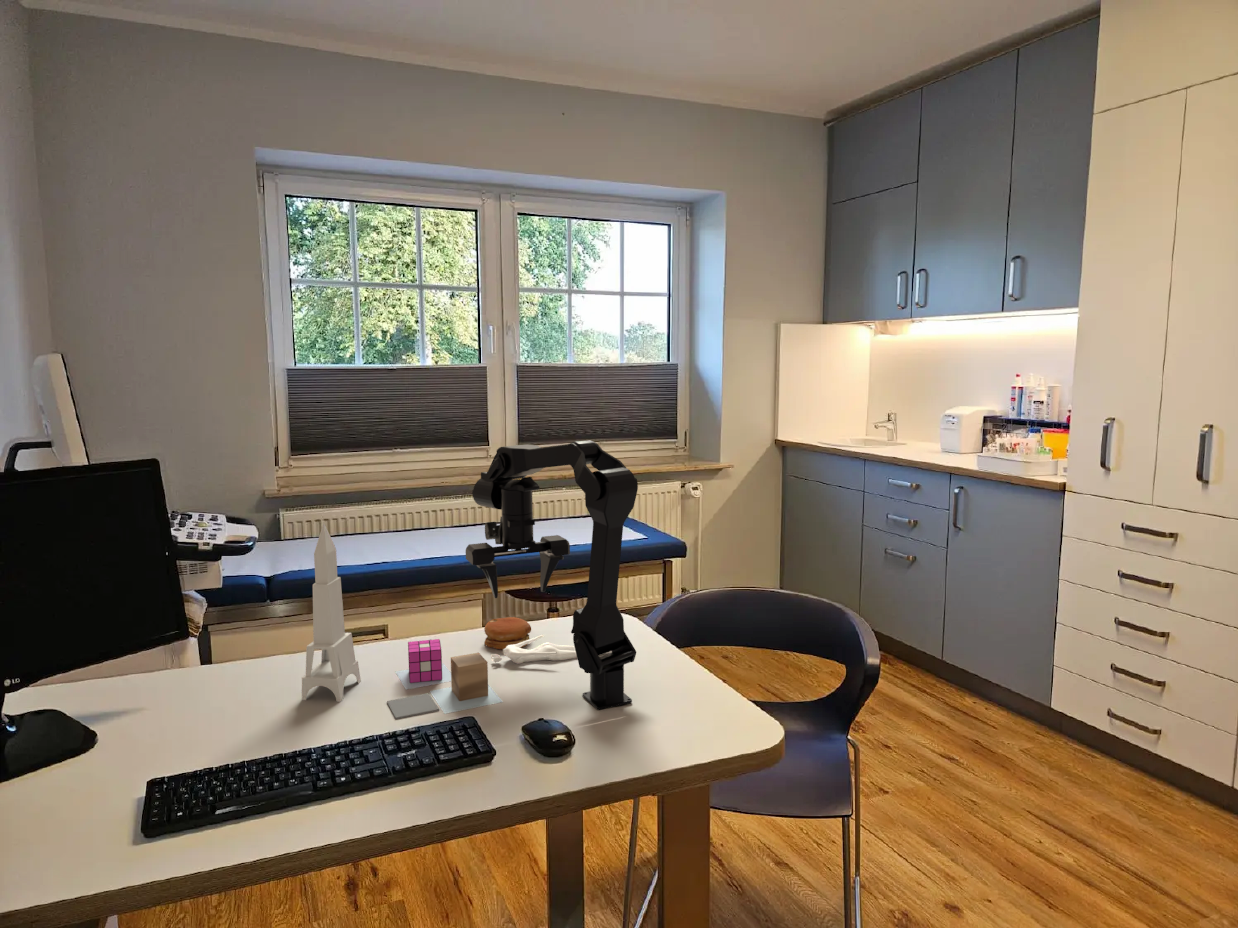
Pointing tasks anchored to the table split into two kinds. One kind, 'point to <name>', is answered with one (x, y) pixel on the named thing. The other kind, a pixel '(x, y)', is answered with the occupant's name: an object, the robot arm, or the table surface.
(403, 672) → the code card
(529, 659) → the figurine
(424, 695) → the pad
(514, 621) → the burger
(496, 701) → the code card
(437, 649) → the puzzle toy
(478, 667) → the walnut block
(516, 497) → the robot arm
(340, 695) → the sculpture
